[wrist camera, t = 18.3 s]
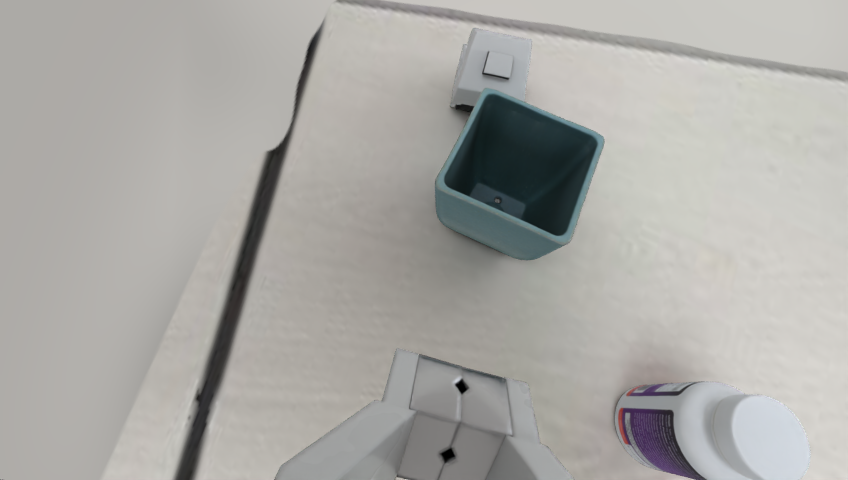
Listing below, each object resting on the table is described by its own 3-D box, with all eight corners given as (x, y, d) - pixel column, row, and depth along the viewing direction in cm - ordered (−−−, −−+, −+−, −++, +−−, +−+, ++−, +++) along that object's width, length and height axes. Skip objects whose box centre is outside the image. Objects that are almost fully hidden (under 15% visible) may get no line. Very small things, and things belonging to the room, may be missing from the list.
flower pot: (522, 286, 31) (570, 247, 23) (420, 240, 32) (432, 185, 24) (555, 198, 34) (607, 135, 26) (462, 158, 35) (485, 84, 27)
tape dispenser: (449, 108, 39) (449, 106, 30) (464, 35, 37) (469, 9, 28) (507, 120, 39) (526, 122, 30) (525, 48, 37) (552, 26, 28)
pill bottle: (671, 485, 27) (814, 530, 18) (600, 437, 28) (703, 457, 19) (695, 413, 29) (835, 420, 20) (628, 370, 30) (734, 358, 21)
